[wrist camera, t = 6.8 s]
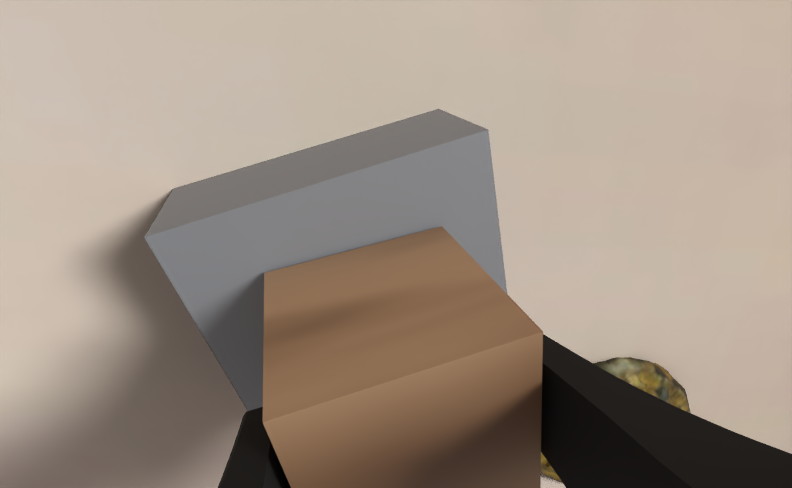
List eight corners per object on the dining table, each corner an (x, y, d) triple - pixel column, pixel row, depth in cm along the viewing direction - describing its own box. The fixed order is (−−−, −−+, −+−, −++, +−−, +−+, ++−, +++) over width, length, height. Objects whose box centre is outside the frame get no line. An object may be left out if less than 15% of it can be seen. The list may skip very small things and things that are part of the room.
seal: (467, 435, 25) (617, 473, 31) (500, 520, 21) (664, 544, 27) (577, 322, 21) (718, 391, 28) (641, 398, 18) (788, 457, 24)
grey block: (470, 307, 19) (515, 367, 16) (275, 379, 18) (278, 462, 14) (435, 107, 15) (488, 129, 11) (175, 185, 13) (144, 237, 10)
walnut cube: (456, 358, 14) (540, 497, 10) (310, 405, 13) (331, 580, 9) (441, 226, 12) (542, 331, 8) (264, 272, 11) (262, 422, 7)
